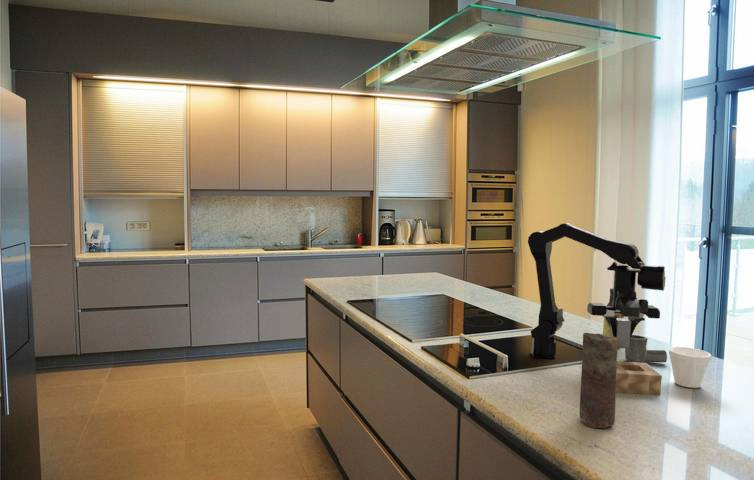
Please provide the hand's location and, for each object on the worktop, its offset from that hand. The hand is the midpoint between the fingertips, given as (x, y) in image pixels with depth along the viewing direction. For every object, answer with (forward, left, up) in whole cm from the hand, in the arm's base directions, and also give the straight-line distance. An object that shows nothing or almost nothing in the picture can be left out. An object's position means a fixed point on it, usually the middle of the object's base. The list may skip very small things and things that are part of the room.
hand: (621, 339), depth 159 cm
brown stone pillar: (-17, -41, -9) cm, 45 cm away
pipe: (+10, +10, -9) cm, 17 cm away
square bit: (0, 0, -2) cm, 2 cm away
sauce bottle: (+6, +27, -9) cm, 29 cm away
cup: (+15, -10, -9) cm, 20 cm away
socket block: (-1, -14, -9) cm, 17 cm away
